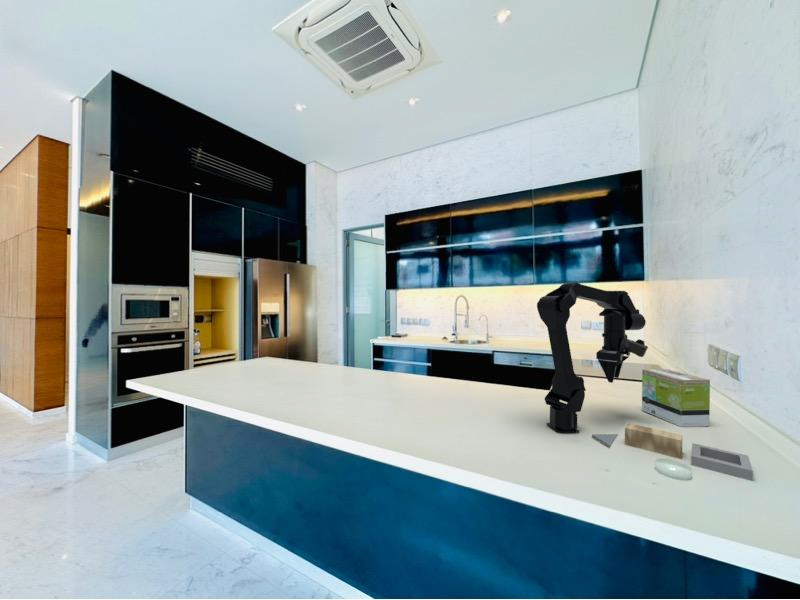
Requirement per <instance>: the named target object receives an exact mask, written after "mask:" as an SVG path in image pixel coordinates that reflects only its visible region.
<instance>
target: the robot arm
mask: <svg viewBox="0 0 800 600" xmlns="http://www.w3.org/2000/svg"><path fill="white" fill-rule="evenodd" d="M577 299H580V300H585V301H588V302H592V303H593V302H594V303H596V304H597V306H598V307H600V308H602V309H603V310H602V311H601V312H599V313H598V315H599V317H603V332H602V333H601V336H602V338H603V345H602V347H601V349H600V350H598V351H596V353H595V354H596V360H597V362H598V363H599V365H600V367H601V369H602V371H603V373H604V375H605V377H606V379H607V382H608V383H611V384H613V383H614V379H618V378H619V377H620V374H621V370H622V367H623V365H624V362H625V361H626V360H627V359H629V358H630V356H631V353H632V354H634V355H636V356H637V357H640V358H644V357H645V355H646V353H647V350H648V348H649V346H648V345H646V344H645V341H644V340H642V339H640V338H639V339H637V340H635V341H634V340H631V339H629V338H628V334H627V333H626V331H640V330H642V329H643V328H644V327H645V326H646V323H647V321H646V319H645V316H643V314H641V313H640V309H637V308H636V307H635V305H634V302H633V300H632V298H631V296H630V295H629V292H627V291H626V290H605V289H600V288H597V287H593V286H588V285H584V284H581V283H579V282H564V283H562V284H561V285H560V286H559V287H558V288H556V289H554V290H552V291H550V292H548V293H547V294H546V295H544V296H541V297H540V298H539V300H538V301H537V303H536V308H537V311H538V315H539V318H540V319H541V321H542V323H544V325H545V326H546V329H547V332H548V338H549V345H550V350H551V356H552V360H553V368H554V373H555V374H554V376H553V378H552V380H551V389H550V390H549V391H548V393H547V394H546V395H545V397H544V402H545V404H546V405H548V406H549V422H547V423H546V425H547V427H549V428H551V429H552V430H554V431H555V432H556V433H558V434H559V433H560V434H561V433H562V434H564V433H566V434H571V433H574V434H578V433H580V430H578V414H577V412H578V413H580V412H581V411H582V407H583V404H584V401H585V397H586V391H587V389H586V387H585V380H584V377H582V376H579V375H577V374H576V372H575V370H574V364H573V359H572V358H573V357H572V353H571V348H570V342H569V336H568V331H567V330H568V329H567V323H568V321H569V319H570V316H571V313H570V312H571V310H570V309H571V308H572V307H573V306H575V305H576V302H577Z"/></svg>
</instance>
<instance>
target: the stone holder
mask: <svg viewBox="0 0 800 600" xmlns="http://www.w3.org/2000/svg"><path fill="white" fill-rule="evenodd" d="M691 445H692V446H691V455H690V459H691V460H690V461H691V462H690V463H691V466H695V467H696V468H697V467H698V468H700V469H701V468H702V469H704V470H708V471H714V472H717V473H721V474H724V475H729V476H732V477H736V478H741V479H743V480H746V481H747V480H748V481H754V470H753V467H752V463H751V461H750V458H749V457H750V456H749V455H748V454H742V453H739V452H735V451H729V450H725V449H720V448H716V447H712V446H707V445H703V444H699V443H693V442H692V443H691Z"/></svg>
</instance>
